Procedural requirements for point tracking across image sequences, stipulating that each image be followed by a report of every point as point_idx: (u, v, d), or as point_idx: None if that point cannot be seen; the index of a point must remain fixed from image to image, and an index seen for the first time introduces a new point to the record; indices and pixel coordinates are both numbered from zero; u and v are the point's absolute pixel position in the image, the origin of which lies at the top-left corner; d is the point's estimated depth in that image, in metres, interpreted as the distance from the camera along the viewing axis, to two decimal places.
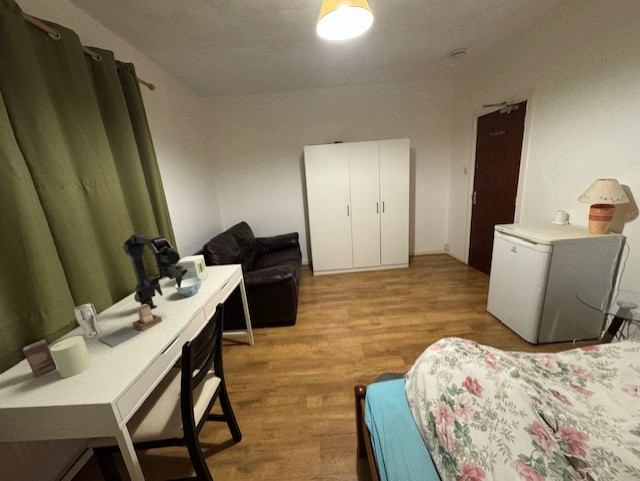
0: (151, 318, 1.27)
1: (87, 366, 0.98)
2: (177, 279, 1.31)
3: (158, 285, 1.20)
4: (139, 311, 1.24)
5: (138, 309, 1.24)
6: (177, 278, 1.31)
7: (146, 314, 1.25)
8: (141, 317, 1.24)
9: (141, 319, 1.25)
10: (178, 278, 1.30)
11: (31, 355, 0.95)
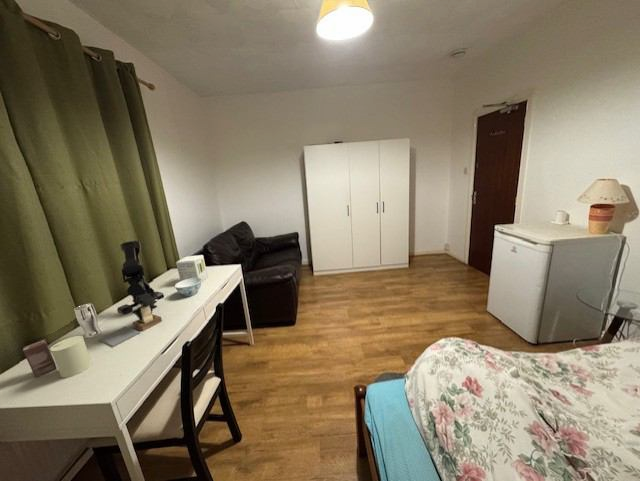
0: (151, 318, 1.27)
1: (87, 366, 0.98)
2: None
3: (137, 310, 1.21)
4: None
5: None
6: None
7: (146, 314, 1.25)
8: None
9: None
10: None
11: (31, 355, 0.95)
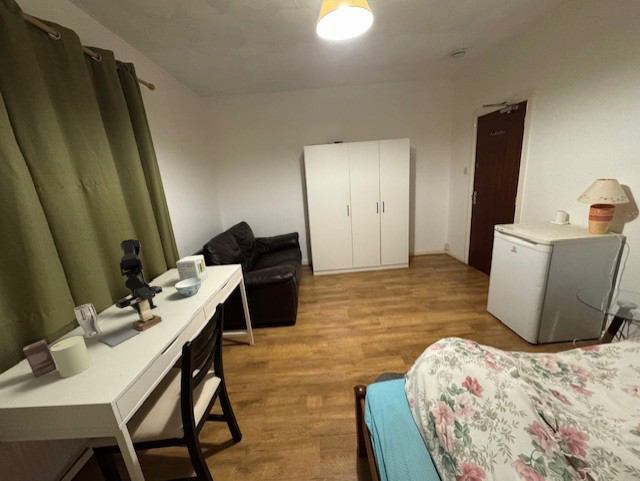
0: (149, 312, 1.26)
1: (87, 366, 0.98)
2: None
3: (135, 304, 1.20)
4: None
5: None
6: None
7: (144, 308, 1.24)
8: None
9: None
10: None
11: (31, 355, 0.95)
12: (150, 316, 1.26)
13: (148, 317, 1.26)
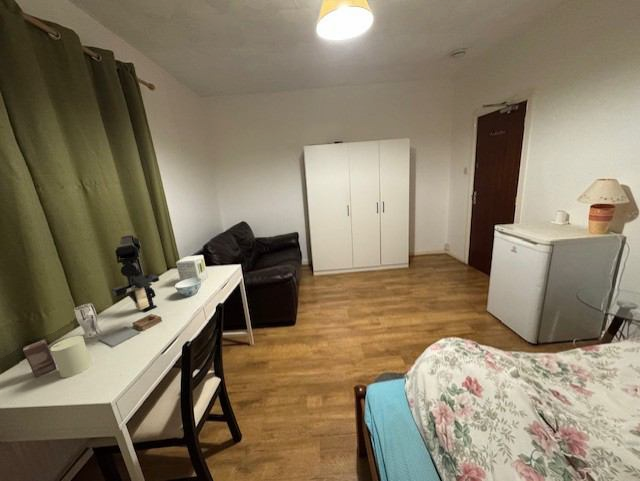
0: (146, 301, 1.25)
1: (87, 366, 0.98)
2: None
3: (132, 292, 1.19)
4: None
5: None
6: None
7: (141, 297, 1.23)
8: None
9: None
10: None
11: (31, 355, 0.95)
12: (147, 305, 1.25)
13: (145, 306, 1.24)
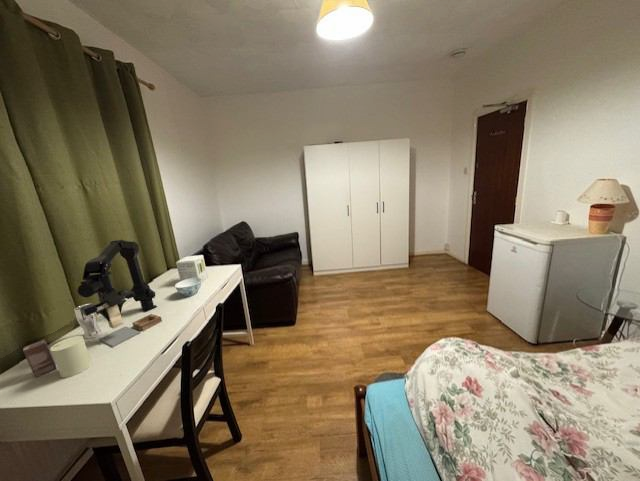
0: (120, 319, 1.17)
1: (87, 366, 0.98)
2: None
3: (103, 311, 1.11)
4: (106, 311, 1.14)
5: None
6: None
7: (114, 315, 1.15)
8: None
9: None
10: (118, 306, 1.17)
11: (31, 355, 0.95)
12: (121, 323, 1.17)
13: (118, 324, 1.16)
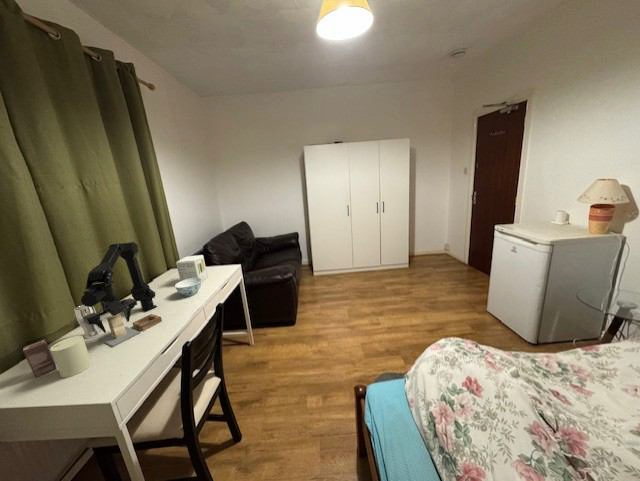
0: (123, 329, 1.18)
1: (87, 366, 0.98)
2: (125, 312, 1.21)
3: (99, 322, 1.10)
4: (109, 321, 1.15)
5: (108, 319, 1.15)
6: (125, 311, 1.21)
7: (117, 325, 1.16)
8: (111, 328, 1.16)
9: (112, 330, 1.16)
10: (126, 311, 1.20)
11: (31, 355, 0.95)
12: (124, 333, 1.18)
13: (121, 334, 1.18)
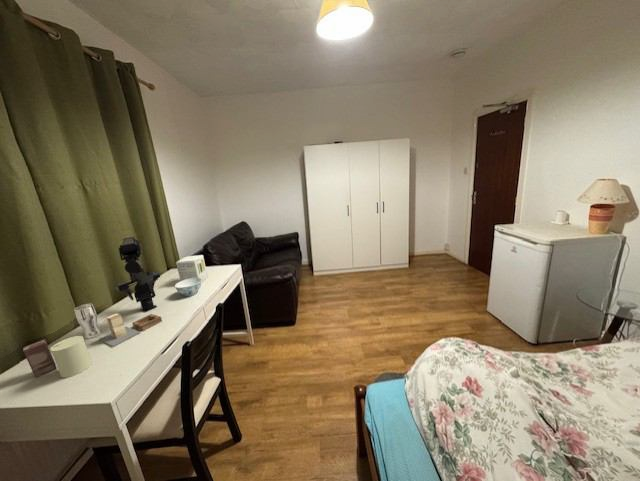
0: (123, 329, 1.18)
1: (87, 366, 0.98)
2: (150, 284, 1.33)
3: (128, 290, 1.23)
4: (109, 321, 1.15)
5: (108, 319, 1.15)
6: (150, 283, 1.33)
7: (117, 325, 1.16)
8: (111, 328, 1.16)
9: (112, 330, 1.16)
10: (150, 283, 1.33)
11: (31, 355, 0.95)
12: (124, 333, 1.18)
13: (121, 334, 1.18)
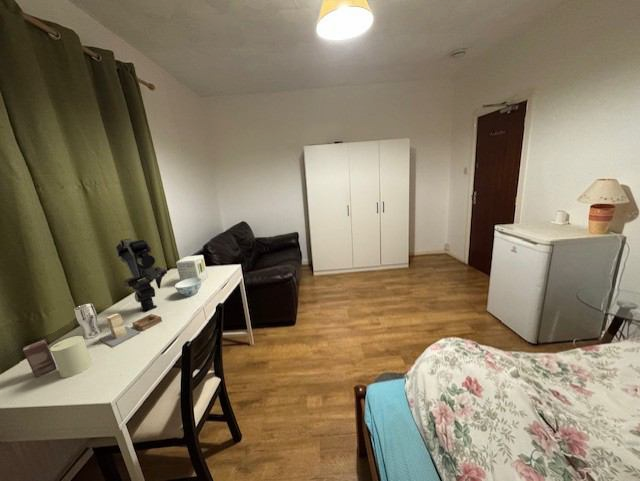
0: (123, 329, 1.18)
1: (87, 366, 0.98)
2: (157, 280, 1.38)
3: (137, 286, 1.27)
4: (109, 321, 1.15)
5: (108, 319, 1.15)
6: (157, 279, 1.38)
7: (117, 325, 1.16)
8: (111, 328, 1.16)
9: (112, 330, 1.16)
10: (158, 279, 1.37)
11: (31, 355, 0.95)
12: (124, 333, 1.18)
13: (121, 334, 1.18)
